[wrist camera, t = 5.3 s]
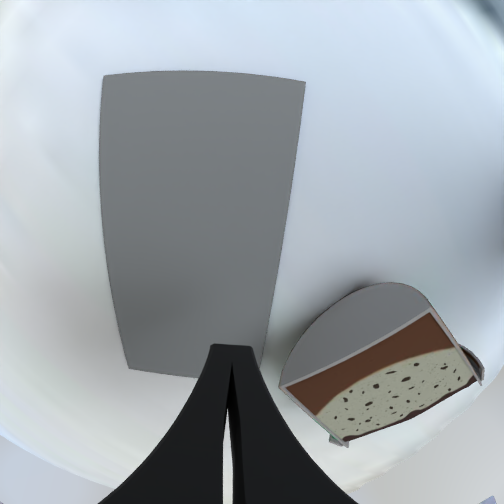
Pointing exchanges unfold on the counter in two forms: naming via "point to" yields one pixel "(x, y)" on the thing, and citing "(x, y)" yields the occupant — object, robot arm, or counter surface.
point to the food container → (376, 362)
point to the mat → (195, 209)
